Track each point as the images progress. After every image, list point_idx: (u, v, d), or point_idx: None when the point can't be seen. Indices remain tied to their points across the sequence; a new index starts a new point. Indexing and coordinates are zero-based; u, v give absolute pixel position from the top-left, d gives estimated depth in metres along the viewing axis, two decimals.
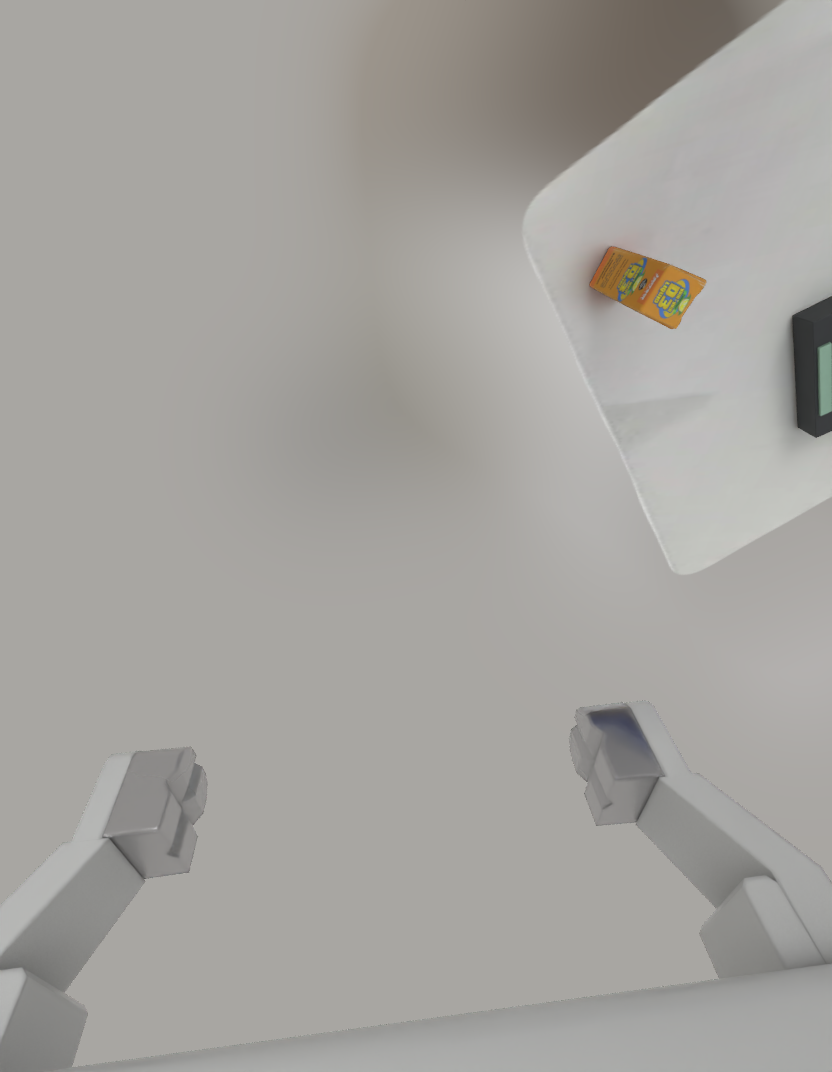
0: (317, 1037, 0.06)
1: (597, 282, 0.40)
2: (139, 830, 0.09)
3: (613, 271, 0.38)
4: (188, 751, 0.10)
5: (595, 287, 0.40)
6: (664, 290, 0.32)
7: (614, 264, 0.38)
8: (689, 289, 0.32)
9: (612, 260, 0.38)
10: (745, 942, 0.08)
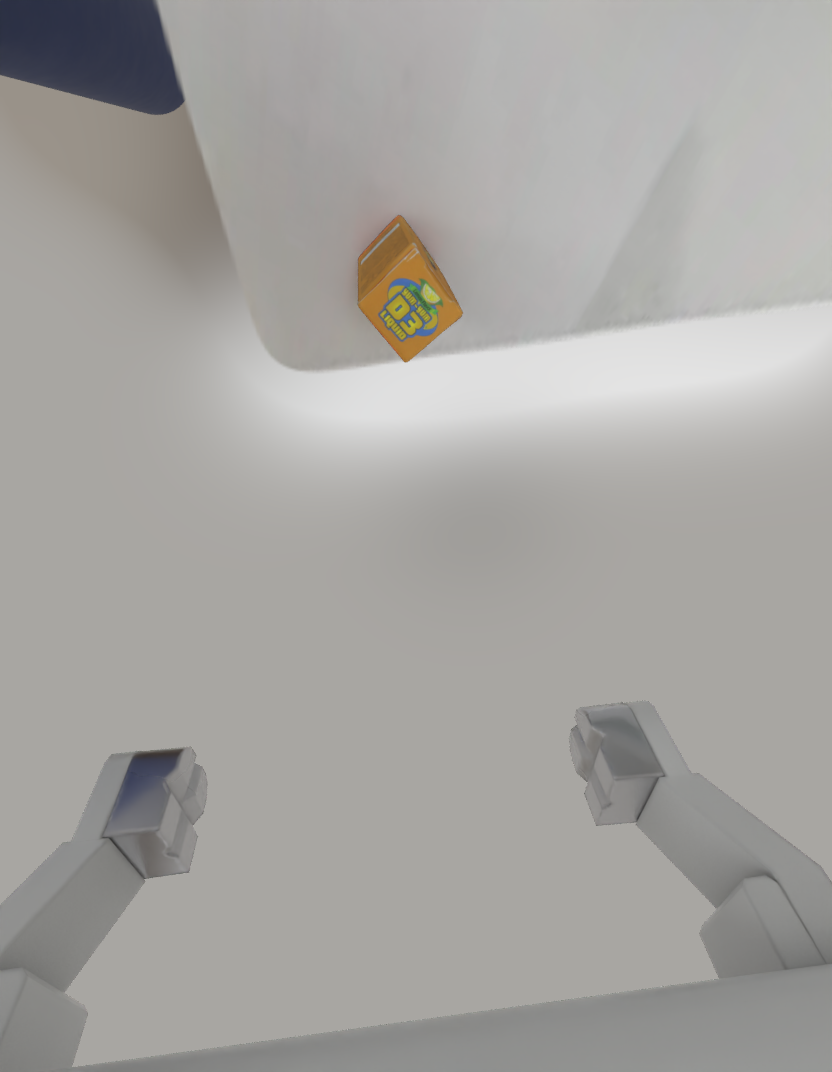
0: (317, 1037, 0.06)
1: None
2: (139, 830, 0.09)
3: None
4: (188, 751, 0.10)
5: None
6: (393, 320, 0.20)
7: None
8: (411, 279, 0.19)
9: None
10: (745, 942, 0.08)
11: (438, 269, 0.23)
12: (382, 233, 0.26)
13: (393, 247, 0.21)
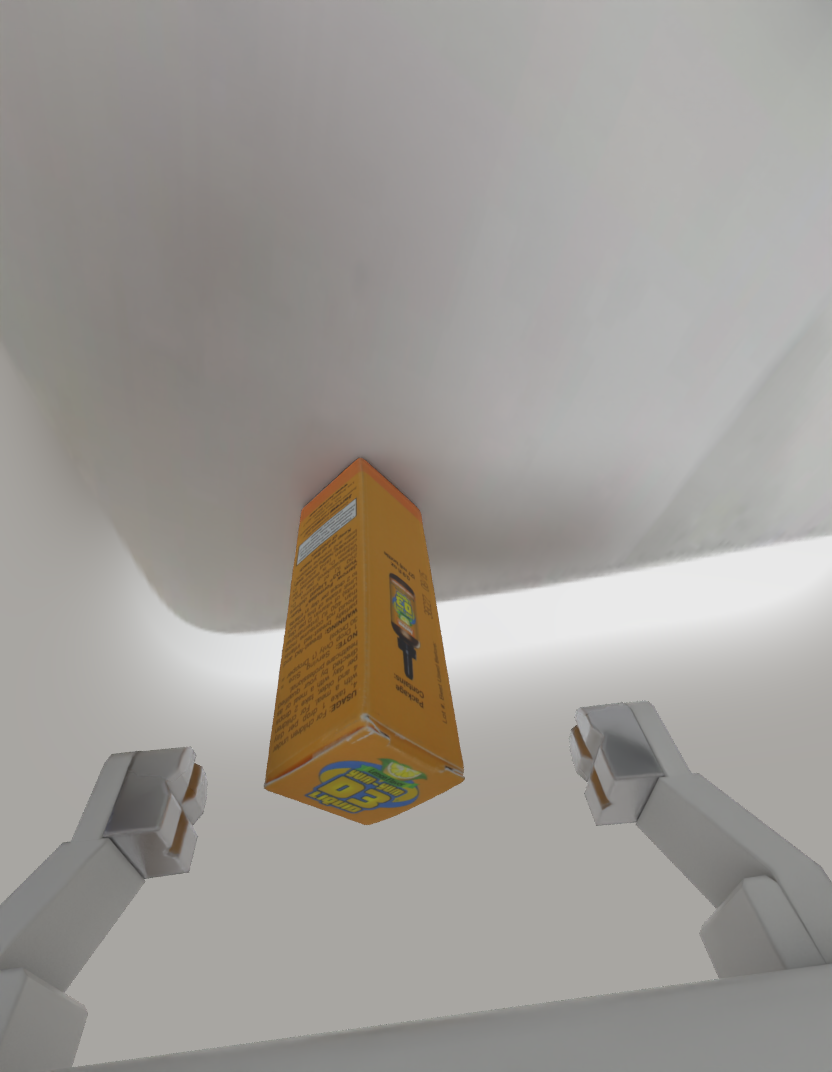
0: (317, 1037, 0.06)
1: None
2: (139, 830, 0.09)
3: None
4: (187, 750, 0.10)
5: None
6: (334, 798, 0.10)
7: None
8: (363, 760, 0.10)
9: None
10: (745, 942, 0.08)
11: (420, 602, 0.14)
12: (334, 490, 0.16)
13: (336, 623, 0.12)
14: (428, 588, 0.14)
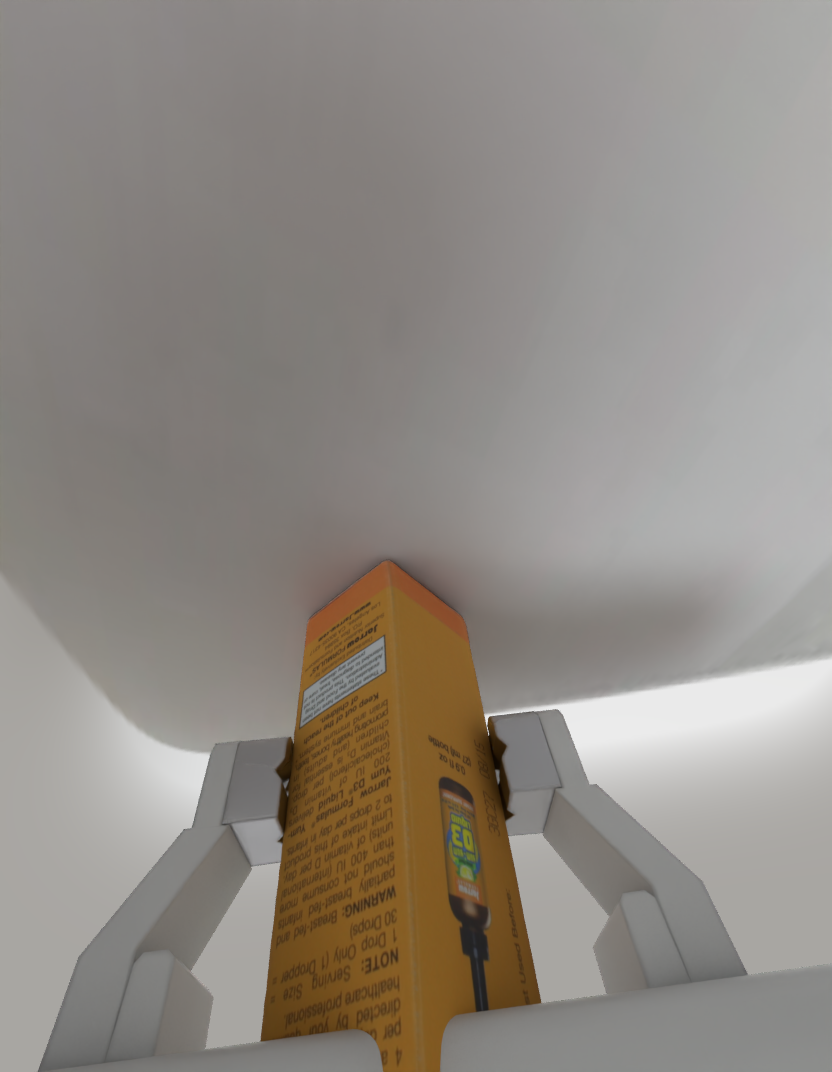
0: (317, 1037, 0.06)
1: None
2: (256, 817, 0.09)
3: None
4: (289, 741, 0.10)
5: None
6: None
7: None
8: None
9: None
10: (622, 958, 0.07)
11: (483, 812, 0.09)
12: (352, 608, 0.12)
13: (361, 902, 0.07)
14: (488, 771, 0.10)
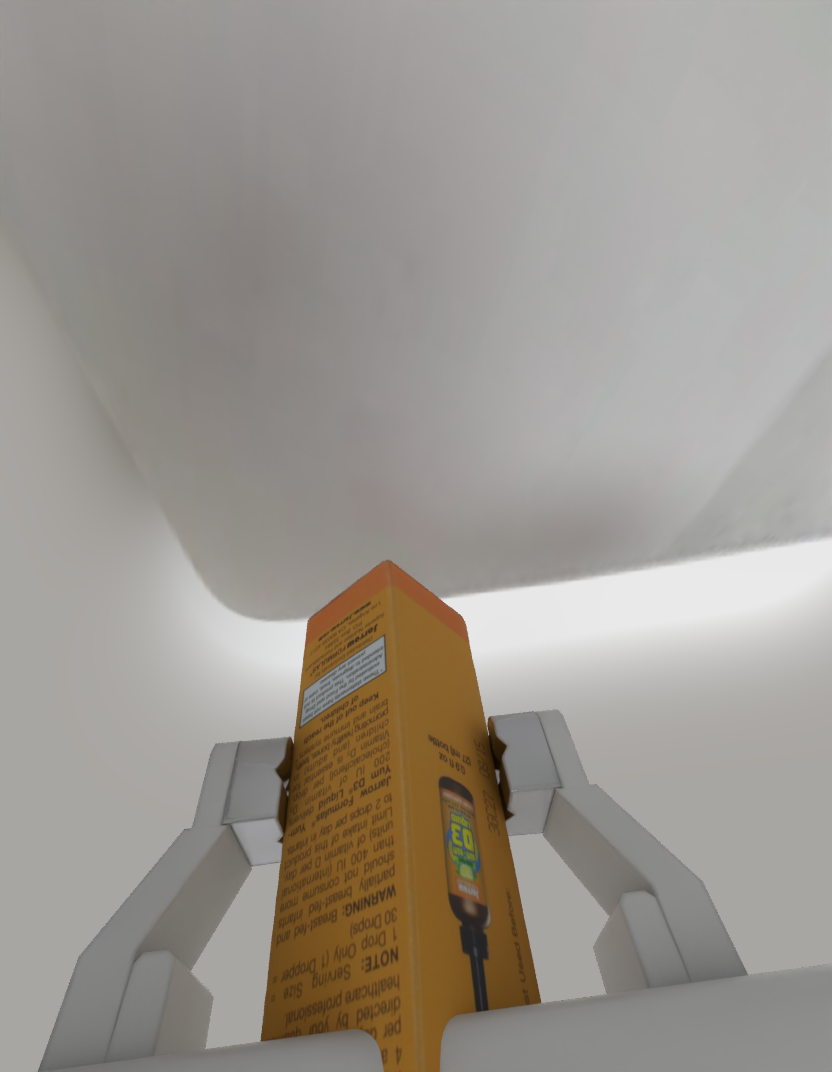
0: (317, 1037, 0.06)
1: None
2: (256, 817, 0.09)
3: None
4: (289, 741, 0.10)
5: None
6: None
7: None
8: None
9: None
10: (622, 958, 0.07)
11: (482, 811, 0.09)
12: (352, 608, 0.12)
13: (361, 901, 0.07)
14: (488, 770, 0.10)
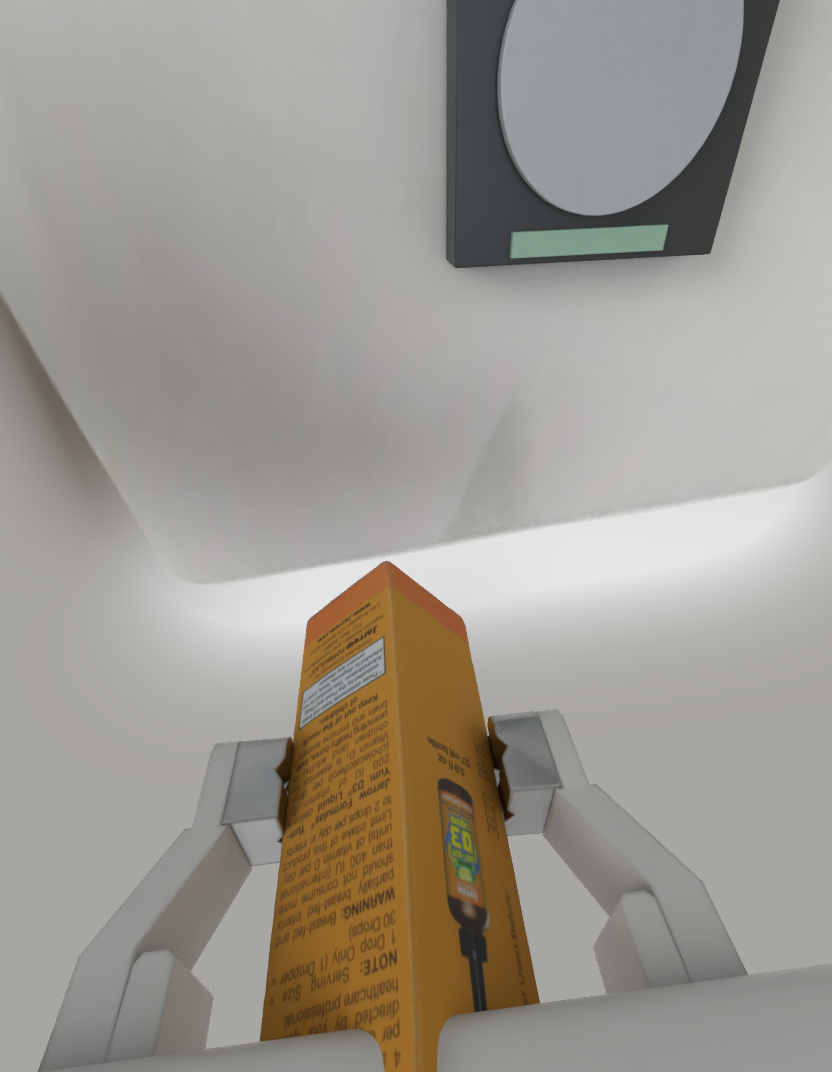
0: (317, 1037, 0.06)
1: None
2: (256, 817, 0.09)
3: None
4: (289, 740, 0.10)
5: None
6: None
7: None
8: None
9: None
10: (623, 958, 0.07)
11: (482, 813, 0.09)
12: (351, 609, 0.12)
13: (360, 903, 0.07)
14: (487, 772, 0.10)
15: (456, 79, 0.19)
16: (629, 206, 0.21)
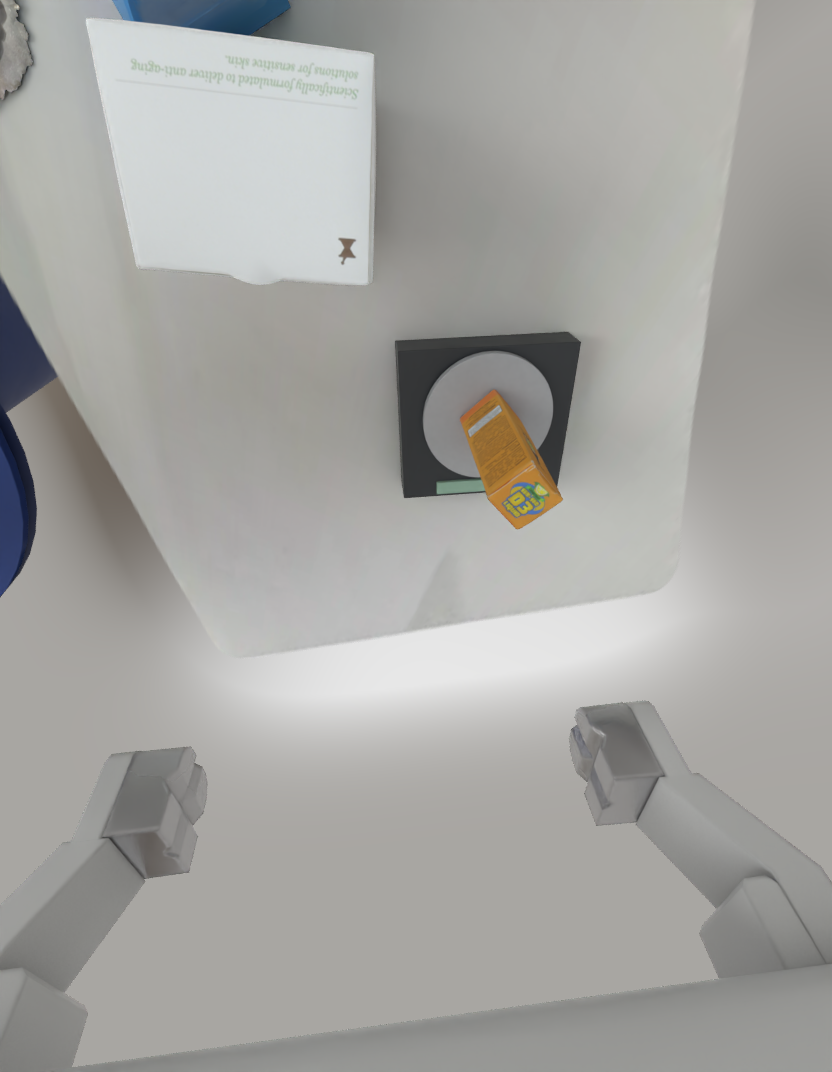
0: (317, 1037, 0.06)
1: None
2: (139, 830, 0.09)
3: None
4: (188, 750, 0.10)
5: None
6: (511, 506, 0.27)
7: None
8: (528, 482, 0.26)
9: None
10: (745, 942, 0.08)
11: (534, 447, 0.30)
12: (482, 405, 0.33)
13: (507, 445, 0.28)
14: (534, 446, 0.31)
15: (400, 419, 0.35)
16: None
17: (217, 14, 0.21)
